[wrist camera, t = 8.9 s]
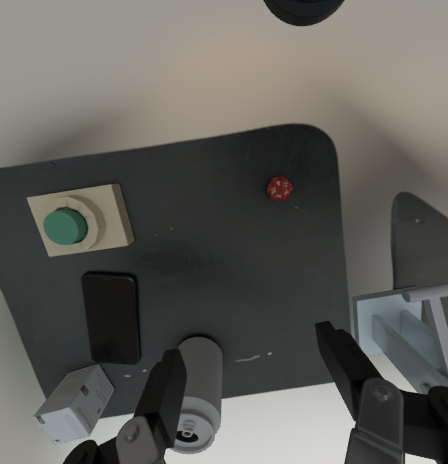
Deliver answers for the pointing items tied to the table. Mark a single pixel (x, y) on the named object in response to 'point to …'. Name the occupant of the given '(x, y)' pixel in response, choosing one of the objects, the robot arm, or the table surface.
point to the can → (200, 396)
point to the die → (279, 188)
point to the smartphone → (112, 317)
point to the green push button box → (87, 218)
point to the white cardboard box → (75, 405)
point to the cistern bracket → (398, 336)
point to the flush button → (65, 226)
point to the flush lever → (434, 318)
